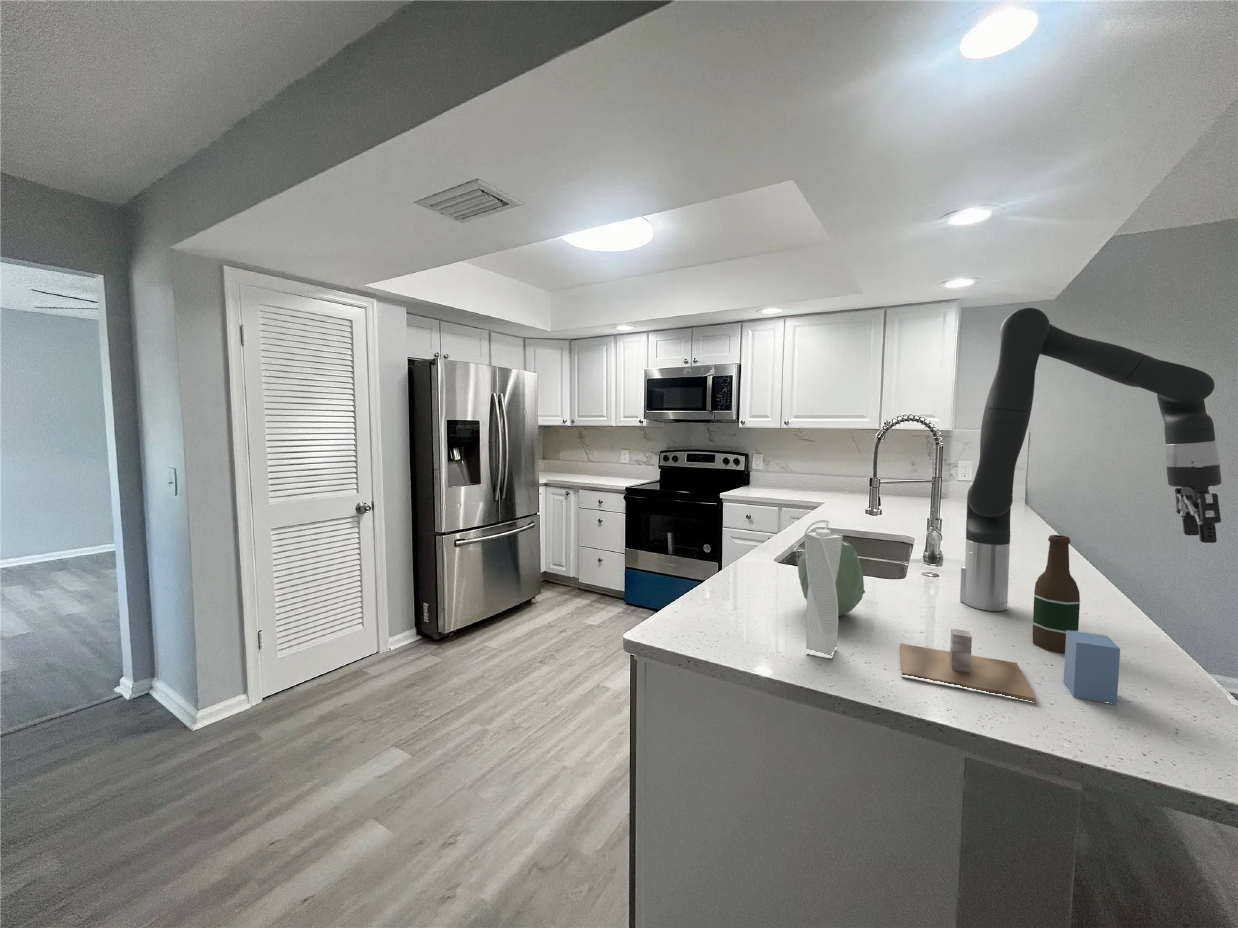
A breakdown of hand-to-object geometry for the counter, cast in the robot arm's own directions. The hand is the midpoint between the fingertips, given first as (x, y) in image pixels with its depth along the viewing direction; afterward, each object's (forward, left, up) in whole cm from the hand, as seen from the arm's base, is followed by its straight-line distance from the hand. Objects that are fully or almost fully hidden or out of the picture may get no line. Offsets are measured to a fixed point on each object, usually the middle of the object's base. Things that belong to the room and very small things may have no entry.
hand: (1199, 538), depth 106 cm
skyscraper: (-35, -74, -23) cm, 85 cm away
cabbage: (-49, -55, -23) cm, 77 cm away
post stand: (-16, -58, -22) cm, 64 cm away
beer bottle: (-13, -29, -23) cm, 39 cm away
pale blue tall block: (-1, -46, -22) cm, 51 cm away
